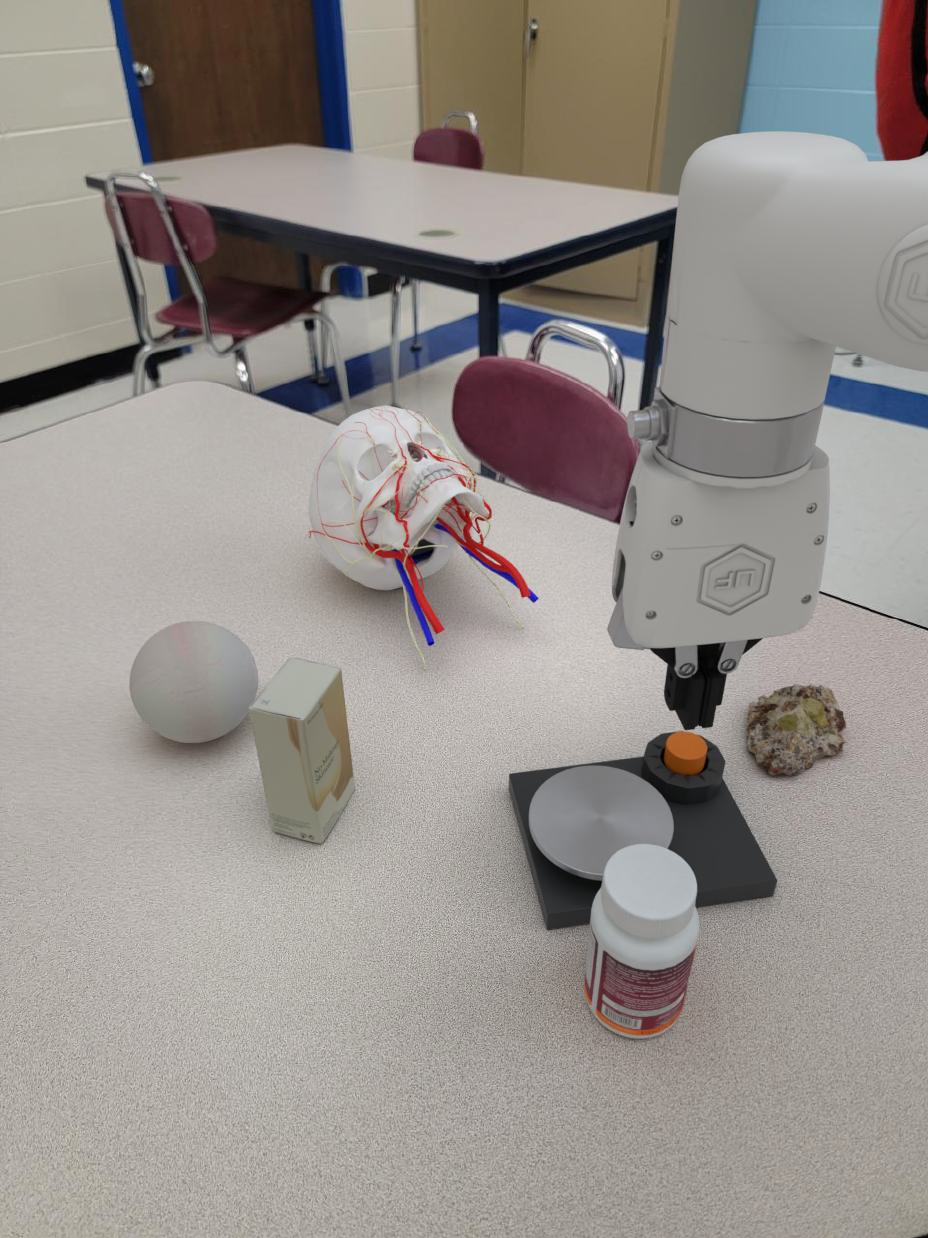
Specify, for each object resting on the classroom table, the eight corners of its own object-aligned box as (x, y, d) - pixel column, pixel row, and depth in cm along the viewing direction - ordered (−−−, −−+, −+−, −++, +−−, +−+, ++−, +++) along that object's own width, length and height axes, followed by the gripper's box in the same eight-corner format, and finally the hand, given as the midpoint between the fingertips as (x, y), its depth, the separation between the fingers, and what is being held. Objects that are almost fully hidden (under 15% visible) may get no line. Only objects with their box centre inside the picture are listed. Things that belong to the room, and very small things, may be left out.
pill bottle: (703, 1017, 55) (732, 901, 48) (617, 1060, 53) (635, 945, 46) (645, 938, 60) (665, 822, 53) (564, 974, 58) (574, 858, 51)
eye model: (138, 706, 79) (110, 613, 73) (253, 677, 82) (235, 586, 76) (151, 783, 72) (121, 687, 66) (277, 748, 75) (259, 653, 69)
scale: (701, 759, 73) (707, 727, 71) (773, 896, 62) (783, 863, 60) (507, 784, 71) (507, 752, 69) (546, 930, 60) (548, 897, 58)
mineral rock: (765, 663, 79) (861, 676, 74) (771, 703, 81) (864, 719, 76) (714, 735, 72) (816, 756, 67) (721, 778, 74) (820, 801, 69)
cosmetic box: (322, 847, 66) (302, 723, 59) (270, 833, 67) (243, 710, 60) (358, 785, 71) (343, 664, 64) (309, 773, 72) (289, 653, 65)
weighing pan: (646, 763, 68) (646, 757, 67) (694, 869, 60) (695, 864, 59) (515, 780, 67) (515, 774, 66) (546, 891, 59) (547, 885, 58)
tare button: (695, 745, 70) (698, 729, 69) (710, 773, 67) (713, 756, 66) (658, 750, 69) (660, 734, 68) (671, 778, 67) (674, 761, 66)
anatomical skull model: (416, 560, 70) (276, 398, 84) (404, 710, 83) (285, 550, 97) (577, 501, 77) (424, 361, 91) (543, 648, 91) (414, 507, 104)
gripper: (602, 474, 40) (582, 772, 50) (924, 446, 41) (838, 742, 52) (564, 408, 46) (554, 687, 56) (846, 385, 47) (783, 662, 58)
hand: (690, 713), depth 54 cm, fingers closed
